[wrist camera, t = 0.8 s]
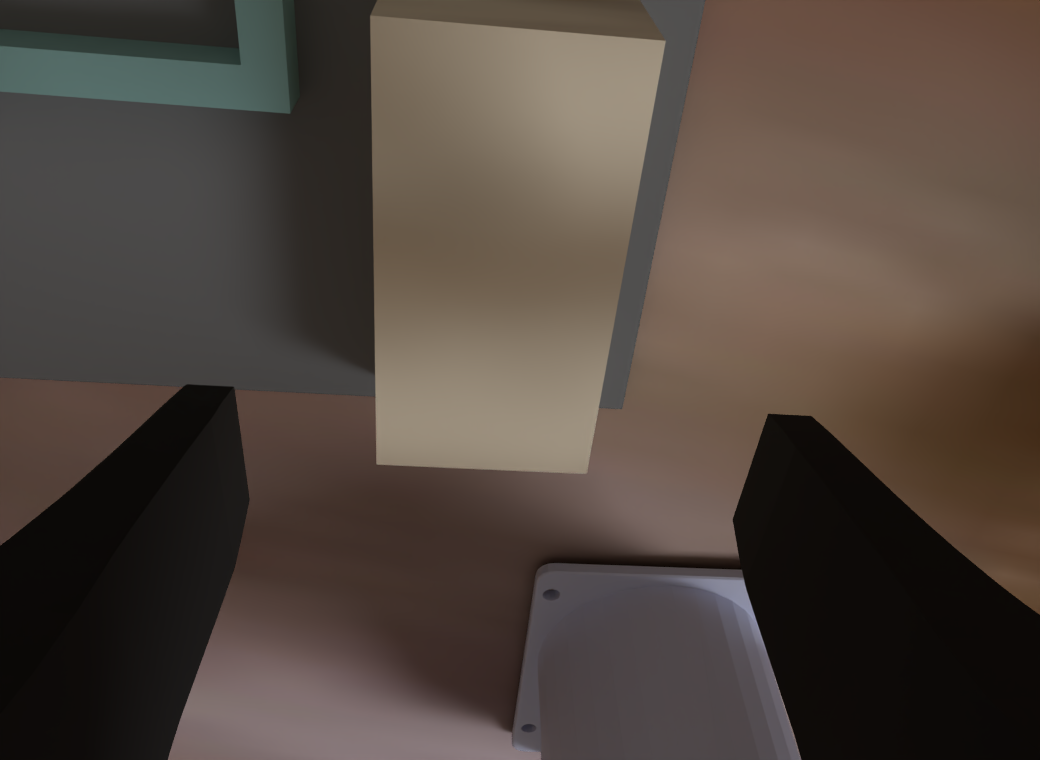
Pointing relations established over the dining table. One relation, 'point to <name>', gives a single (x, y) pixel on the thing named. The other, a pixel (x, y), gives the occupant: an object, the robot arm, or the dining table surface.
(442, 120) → the beige block
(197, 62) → the teal frame
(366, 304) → the rubber mat
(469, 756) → the dining table surface
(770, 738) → the robot arm
